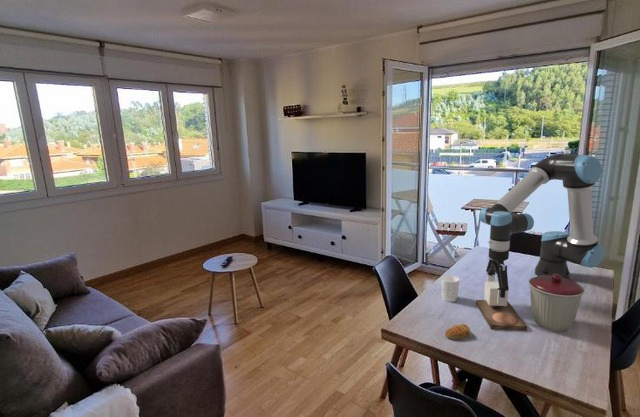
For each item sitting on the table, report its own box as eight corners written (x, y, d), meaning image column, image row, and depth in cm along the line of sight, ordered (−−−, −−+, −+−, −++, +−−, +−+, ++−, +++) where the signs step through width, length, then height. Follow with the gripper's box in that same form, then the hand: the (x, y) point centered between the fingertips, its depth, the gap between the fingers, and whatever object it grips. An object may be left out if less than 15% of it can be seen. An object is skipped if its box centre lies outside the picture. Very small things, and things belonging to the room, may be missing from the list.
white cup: (459, 296, 167) (460, 276, 165) (457, 303, 160) (458, 283, 158) (441, 293, 170) (442, 274, 168) (439, 301, 163) (440, 280, 161)
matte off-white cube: (501, 298, 156) (502, 281, 155) (506, 306, 149) (508, 288, 148) (484, 297, 157) (485, 281, 156) (489, 305, 150) (490, 288, 149)
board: (507, 304, 157) (508, 283, 155) (526, 330, 137) (529, 306, 135) (475, 303, 159) (477, 283, 157) (491, 329, 139) (492, 305, 137)
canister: (582, 342, 129) (589, 287, 124) (525, 330, 138) (529, 279, 133) (576, 318, 144) (582, 269, 140) (525, 309, 153) (529, 262, 149)
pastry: (452, 343, 132) (453, 334, 131) (440, 334, 138) (441, 325, 137) (473, 337, 135) (473, 328, 134) (460, 328, 141) (461, 320, 140)
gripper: (480, 239, 161) (477, 283, 165) (499, 259, 137) (495, 310, 141) (498, 240, 160) (495, 284, 164) (520, 259, 136) (516, 311, 140)
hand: (495, 296), depth 153 cm, fingers open, 13 cm apart
